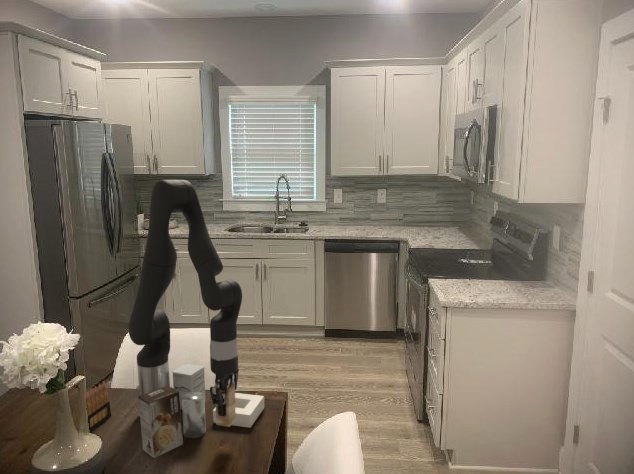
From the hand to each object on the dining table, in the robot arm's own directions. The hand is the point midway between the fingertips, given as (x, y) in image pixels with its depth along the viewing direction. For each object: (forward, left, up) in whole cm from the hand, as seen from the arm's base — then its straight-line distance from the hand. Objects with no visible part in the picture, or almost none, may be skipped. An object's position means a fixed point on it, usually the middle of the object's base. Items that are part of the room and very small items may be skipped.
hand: (225, 411), depth 139 cm
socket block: (-3, +15, -10) cm, 18 cm away
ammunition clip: (-43, 0, -10) cm, 44 cm away
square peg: (0, 0, -3) cm, 3 cm away
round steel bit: (-12, +3, -10) cm, 15 cm away
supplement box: (-21, +17, -10) cm, 29 cm away
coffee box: (-17, -6, -10) cm, 20 cm away
